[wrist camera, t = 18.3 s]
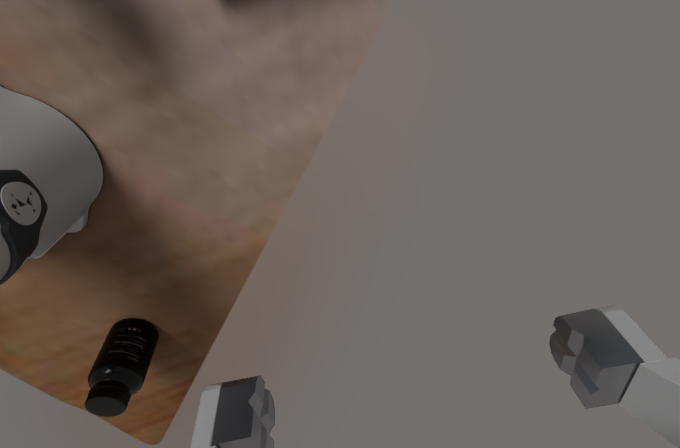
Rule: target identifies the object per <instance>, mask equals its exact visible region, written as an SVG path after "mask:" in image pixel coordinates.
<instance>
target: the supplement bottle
mask: <svg viewBox="0 0 680 448" xmlns="http://www.w3.org/2000/svg"><path fill="white" fill-rule="evenodd" d="M158 338H159V334H158V331H157V329H156V328H155V327H154V326H153V325H152V324H151V323H149V322H147V321H145V320H141V319H136V318H129V319H123V320H120V321H118V322H117V323H115V324H114V325H113V326H112V328H111V329H110V331H109V333H108V335H107V337H106V340H105V342H104V344H103V346H102V348H101V350H100V352H99V354H98V356H97V358H96V360H95V363H94V365H93V367H92V369H91V371H90V373H89V376H88V384H89V386H90V388H91V389H90V391H89V393H88V397H87V399H86V401H85V408H86V409H87V410H88V411H89V412H90V413H93V414H95V415H98V416H104V417H110V416H117V415H120V414H122V413H123V412H124V411H125V410H126V407H127V405H128V402H129V401H130V398H131V395H133V394H135V393H136V392H137V391H139V390H140V388H141V387H142V385H143V383H144V380H145V377H146V374H147V371H148V368H149V365H150V362H151V359H152V356H153V354H154V351H155V348H156V345H157V341H158Z"/></svg>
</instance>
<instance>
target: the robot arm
mask: <svg viewBox="0 0 680 448" xmlns="http://www.w3.org/2000/svg"><path fill="white" fill-rule="evenodd" d="M102 183H103V170H102V165H101V161H100V158H99V156H98V154H97V152H96V150H95V148H94V146H93V145H92V143H91V142H90V140H89V139H88V138H87V136H86V135H85V134H84V133H83V132H82V131H81V130H80V129H79V128H78V127H77V126H76V125H75V124H74V123H73V122H72V121H71V120H70V119H68V118H67V117H66V116H64V115H63V114H61V113H60V112H59V111H57V110H55V109H54V108H52V107H50V106H48V105H47V104H45V103H43V102H40V101H38V100H36V99H33V98H31V97H28V96H25V95H22V94H18V93H15V92H12V91H10V90H7V89H5V88H3V87H1V86H0V285H1V284H2V283H4V282H5V281H7V280H8V279H9V278H10V277H11V276H12V275H14V274H15V273H16V272H18V271H19V270H20V269H21V268H22V266H23V265H24V264H25V263H26V262H27V260H28V259H31V258H34V259H37V258H40V257H41V256H43V255H44V254H45V253H46V252H47V251H48V250H49V249H50V248H51V247H52V246H53V245H54V244H55V243H56V242H58V241H59V240H60V239H61V238H62V237H63V236H64V235H65V234H66V233H71V232H78V231H80V230H81V229H83V228H84V227H85V226H86V224H87V220H88V209H89V207H90V205H91V204H92V203H93V202H94V200H95V199H96V198H97V196H98V195H99V193H100V190H101V188H102ZM553 325H554V327H555V328H556V331H555V332H554V333H553V334H552V335H551V337H550V348H551V353H552V355H553V357H554V360H555V362H556V363H557V365H558V366H559V368H560V369H561V370H562V371H564V372H566V373H567V374H569V375H570V376H571V382H570V385H571V387H572V388H573V390H574V392H575V393H576V395H577V396H578V397H579V399H580V400H581V402H582V404H583V405H584V407H585V408H593V407H599V406H605V405H611V404H617V403H620V404H619V406H621V407H622V408H624V409H625V410H626V411H628V412H629V413H631V414H632V415H633V416H635V417H636V418H637V419H639V420H640V421H642V422H643V423H644V424H646V425H647V426H649V427H650V428H651V429H653V430H654V431H655V432H657V433H658V434H660V435H661V436H662V437H664V438H665V439H667V440H668V441H669V442H671V443H672V444H673V445H675V446H676V447H678V448H680V360H678V359H677V358H675V357H670V358H667V357H666V356H665V355H664V353H662V351H661V350H660V349H659V348H658V347H657V346H656V345H655V344H654V343H653V342H652V341H651V340H650V338H649V337H648V336H647V335H646V334H645V333H644V332H643V331H642V330H641V329H640V328H639V327H638V326H637V325H636V324H635V322H634V321H633V320H632V319H631V318H630V317H629V316H628V315H627V314H626V313H625V312H624V311H623V310H622V309H621V308H620V307H618V306H616V305H611V306H606V307H602V308H597V309H590V310H585V311H581V312H576V313H572V314H567V315H562V316H558V317H557V318H555V321H554V324H553ZM274 425H275V408H274V401H273V398H272V395H271V393H270V391H269V390H267V389H264V380H263V379H262V377H261V376H255V377H250V378H246V379H240V380H234V381H229V382H222V383H217V384H213V385H208V386H205V388H204V390H203V392H202V394H201V399H200V403H199V408H198V413H197V417H196V422H195V427H194V432H193V436H192V441H191V446H190V448H274V441H273V439H272V438H271V436H270V434H269V433H270V432H271V430H272V428H273V427H274Z"/></svg>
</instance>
